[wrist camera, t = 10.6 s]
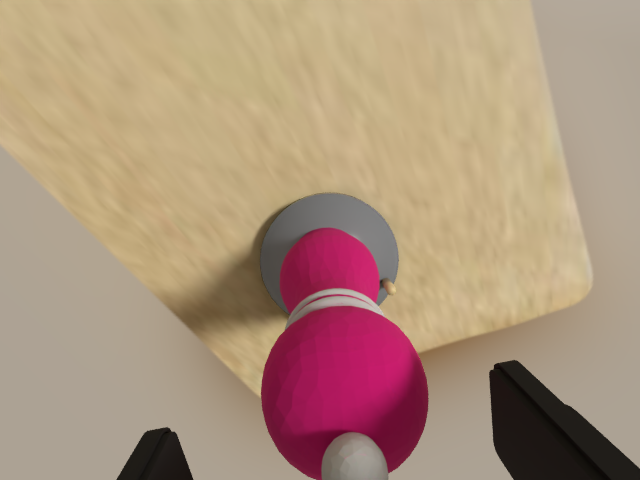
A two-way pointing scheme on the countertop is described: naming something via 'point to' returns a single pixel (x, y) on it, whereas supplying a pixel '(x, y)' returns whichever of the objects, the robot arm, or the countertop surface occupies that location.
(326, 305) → the pepper mill
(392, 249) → the grey flat disc
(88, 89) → the countertop surface
